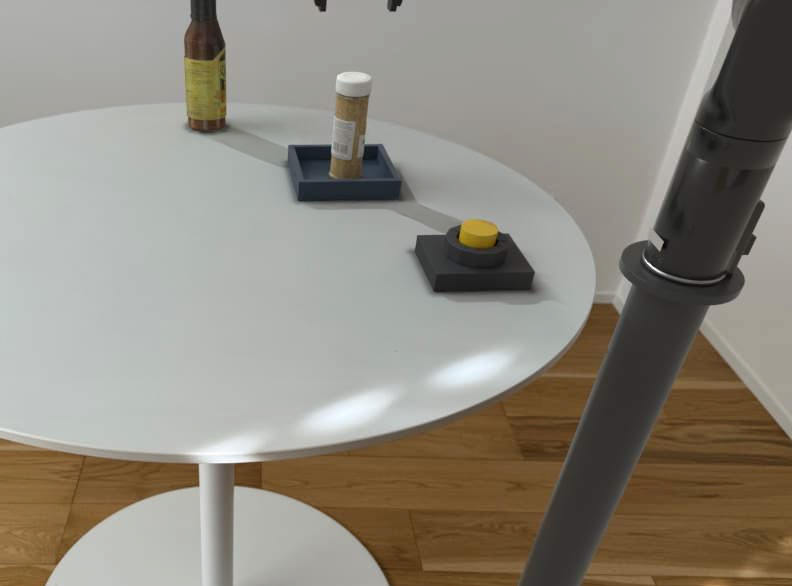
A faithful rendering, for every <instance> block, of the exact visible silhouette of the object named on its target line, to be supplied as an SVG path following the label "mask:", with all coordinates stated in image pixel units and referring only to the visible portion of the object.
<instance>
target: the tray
mask: <svg viewBox="0 0 792 586" xmlns="http://www.w3.org/2000/svg"><path fill="white" fill-rule="evenodd" d="M331 148H332V143H330V144H326V143H325V144H288V145H287V160H286V161H287V166H288V169H289V173H290V177H291V181H292V184H293V188H294V191H295V195H296V199H297V201H299V202H300V201H350V200H351V201H352V200H353V201H355V200H357V201H358V200H361V201H363V200H399V199H400V195H401V189H402V182H403V180H402V178H401V177H400V175H399V172H398V171H397V169H396V167H395V165H394V163H393V161H392V159H391V157H390V155H389V154H388V151H387V150H386V148H385V146H384V144H383V143H365V144H364V154H363V159H362V168H361V172H362V176H361V178H360V179H332V178H331V177H330V176H329V172H330V167H331V156H332V154H331Z"/></svg>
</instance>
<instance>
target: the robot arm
mask: <svg viewBox="0 0 792 586" xmlns="http://www.w3.org/2000/svg"><path fill="white" fill-rule="evenodd" d="M403 2H404V1H403V0H387V4H386V8H387V11H389V12H390V13H396V12H397V9H398V7H401V6H402V4H403ZM313 3H314V6H315V7H317V9H318V11H319V13H326V12H327V4H328V0H313ZM730 12H731V13H730V15H731V16H730V17H731V22H732V27H733V30H734V34H733V37H732V40H731V42H730V45H729V47H728V50H727V52H726V54H725V56H724V60H723V62H722V65H721V67H720V69H719V71H718V74H717V77H716V79H715V81H714V82H713V84H712V86H711V87H710V89H708V90H707V91H706V92H705V93H704V94H703V96H702V98H701V100H700V103H699V105H698V108H697V111H696V113H695V116H694V119H693V121H692V124H691V127H690V129H689V132H688V135H687V137H686V140H685V143H684V145H683V148H682V150H681V153H680V156H679V158H678V161H677V164H676V166H675V169H674V172H673V175H672V177H671V179H670V182H669V185H668V188H667V190H666V193H665V195H664V198H663V200H662V203H661V206H660V209H659V211H658V214H657V217H656V219H655V221H654V224H653V227H652V226H650V227H649V230H648V232H647V235H646V238H647V240H648V242H647V244H646V248H645V249H644V250H643V253H642V256H641V262H642V264H643V265H644V267H645V268H646V269H647V270H649V271H650V272H651V273H653V274H654V275H656V276H658V277H660V278H662V279H665V280H667V281H670V282H673V283H677V284H681V285H687V286H696V287H705V286H712V285H716V284H718V283H720V282H722V281H723V280H724V279H731V278H732V276H733V274H734V272H735V270H736V268H737V267H739V264H740V261H741V260H742V257H743V256H749V255H750V253H751V250H752V249H753V246H754V244H755V243H756V241H757V236H756V235H755V234H754V231H755V230H756V227H757V225H758V223H759V221H760V219H761V217H762V214H763V213H764V210H765V208H766V203H765V202H764V201H763V199H761V198H762V196H763V193H764V191H765V189H766V188H767V185H768V183H769V181H770V178H771V176H772V174H773V172H774V170H775V168H776V166H777V163H778V161H779V159H780V156H781V155H782V152H783V150H784V148H785V146H786V144H787V142H788V140H789V137H790V135H791V134H792V0H732V1H731V11H730Z"/></svg>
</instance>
